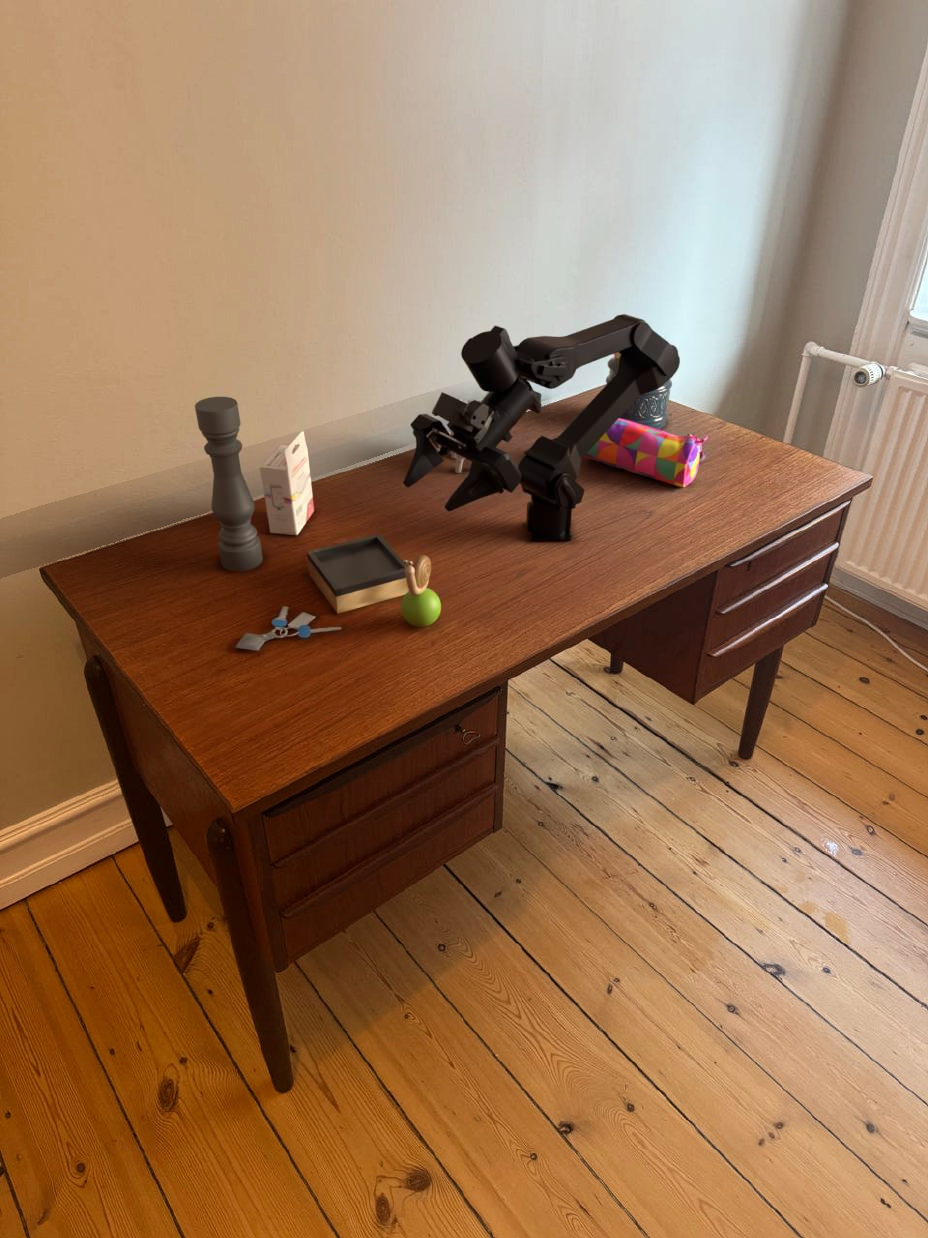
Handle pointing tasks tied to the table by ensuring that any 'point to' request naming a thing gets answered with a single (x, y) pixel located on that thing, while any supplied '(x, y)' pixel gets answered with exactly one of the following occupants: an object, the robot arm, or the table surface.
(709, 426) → the table surface
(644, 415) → the canister
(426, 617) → the green two-tone figurine
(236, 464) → the candle holder
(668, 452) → the pencil case
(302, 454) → the ink cartridge box
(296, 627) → the key chain
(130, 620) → the table surface
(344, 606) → the square tray
